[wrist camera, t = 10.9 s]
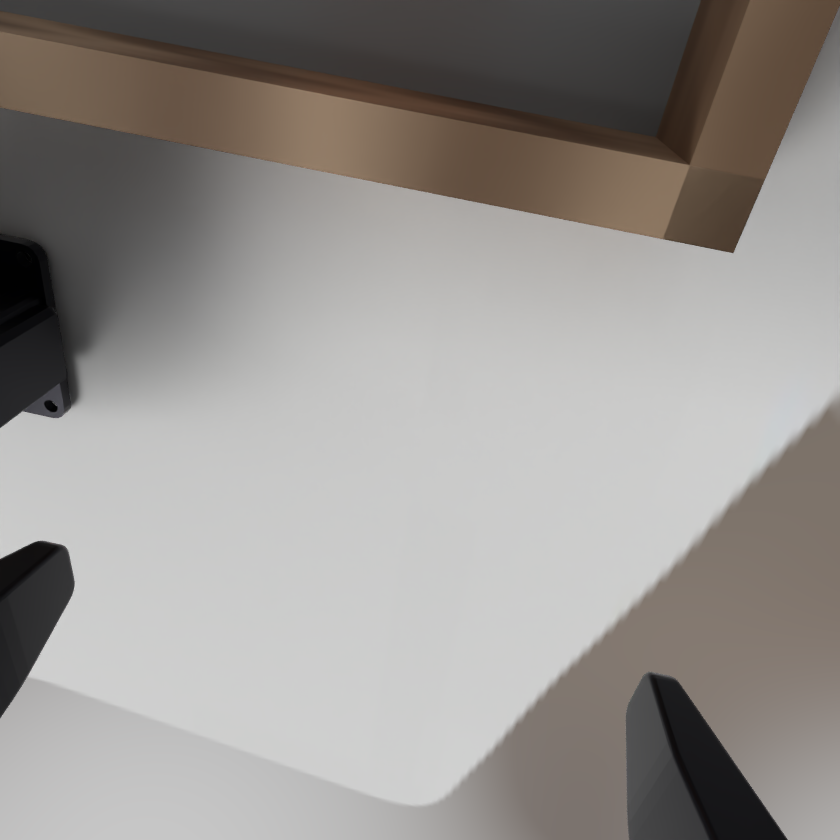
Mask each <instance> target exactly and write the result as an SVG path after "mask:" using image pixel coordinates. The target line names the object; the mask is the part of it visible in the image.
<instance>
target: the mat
mask: <svg viewBox="0 0 840 840" xmlns="http://www.w3.org/2000/svg"><path fill="white" fill-rule="evenodd" d="M700 2H701V0H0V11H4V12H9V13H14V14H19V15H24V16H30V17H35V18H40V19H45V20H50V21H56V22H61V23H66V24H71V25H76V26H82V27H87V28H92V29H97V30H102V31H108V32H113V33H118V34H123V35H128V36H133V37H139V38H144V39H149V40H154V41H159V42H165V43H170V44H175V45H180V46H185V47H191V48H196V49H201V50H206V51H211V52H217V53H222V54H227V55H232V56H237V57H243V58H248V59H253V60H258V61H263V62H269V63H274V64H279V65H284V66H289V67H295V68H300V69H305V70H310V71H315V72H320V73H326V74H331V75H336V76H341V77H346V78H352V79H357V80H362V81H367V82H372V83H378V84H383V85H388V86H393V87H398V88H404V89H409V90H414V91H419V92H424V93H430V94H435V95H440V96H445V97H450V98H456V99H461V100H466V101H471V102H476V103H482V104H487V105H492V106H497V107H502V108H507V109H513V110H518V111H523V112H528V113H533V114H539V115H544V116H549V117H554V118H559V119H565V120H570V121H575V122H580V123H585V124H591V125H596V126H601V127H606V128H611V129H617V130H622V131H627V132H632V133H637V134H643V135H648V136H653V137H656V135H657V132H658V129H659V126H660V123H661V120H662V117H663V114H664V111H665V108H666V105H667V102H668V99H669V96H670V93H671V89H672V86H673V83H674V80H675V77H676V74H677V71H678V68H679V65H680V62H681V59H682V56H683V53H684V50H685V47H686V44H687V41H688V38H689V35H690V32H691V29H692V26H693V23H694V20H695V17H696V14H697V11H698V8H699V5H700Z"/></svg>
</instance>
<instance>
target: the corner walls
mask: <svg viewBox="0 0 840 840" xmlns="http://www.w3.org/2000/svg"><path fill="white" fill-rule="evenodd" d="M839 6H840V0H701V2H700V5H699V8H698V11H697V14H696V17H695V20H694V23H693V26H692V29H691V32H690V35H689V38H688V41H687V44H686V47H685V50H684V53H683V56H682V59H681V62H680V65H679V68H678V71H677V74H676V77H675V80H674V83H673V86H672V89H671V93H670V96H669V99H668V102H667V105H666V108H665V111H664V114H663V117H662V120H661V123H660V126H659V129H658V132H657V135H656V137H653V136H648V135H643V134H637V133H632V132H627V131H622V130H617V129H611V128H606V127H601V126H596V125H591V124H585V123H580V122H575V121H570V120H565V119H559V118H554V117H549V116H544V115H539V114H533V113H528V112H523V111H518V110H513V109H507V108H502V107H497V106H492V105H487V104H482V103H476V102H471V101H466V100H461V99H456V98H450V97H445V96H440V95H435V94H430V93H424V92H419V91H414V90H409V89H404V88H398V87H393V86H388V85H383V84H378V83H372V82H367V81H362V80H357V79H352V78H346V77H341V76H336V75H331V74H326V73H320V72H315V71H310V70H305V69H300V68H295V67H289V66H284V65H279V64H274V63H269V62H263V61H258V60H253V59H248V58H243V57H237V56H232V55H227V54H222V53H217V52H211V51H206V50H201V49H196V48H191V47H185V46H180V45H175V44H170V43H165V42H159V41H154V40H149V39H144V38H139V37H133V36H128V35H123V34H118V33H113V32H108V31H102V30H97V29H92V28H87V27H82V26H76V25H71V24H66V23H61V22H56V21H50V20H45V19H40V18H35V17H30V16H24V15H19V14H14V13H9V12H4V11H0V108H5V109H10V110H15V111H20V112H25V113H30V114H35V115H41V116H46V117H51V118H56V119H61V120H66V121H71V122H76V123H81V124H86V125H91V126H96V127H101V128H106V129H111V130H116V131H121V132H126V133H131V134H136V135H141V136H146V137H151V138H156V139H161V140H166V141H171V142H177V143H182V144H187V145H192V146H197V147H202V148H207V149H212V150H217V151H222V152H227V153H232V154H237V155H242V156H247V157H252V158H257V159H262V160H267V161H272V162H277V163H282V164H287V165H292V166H297V167H302V168H307V169H313V170H318V171H323V172H328V173H333V174H338V175H343V176H348V177H353V178H358V179H363V180H368V181H373V182H378V183H383V184H388V185H393V186H398V187H403V188H408V189H413V190H418V191H423V192H428V193H433V194H438V195H443V196H449V197H454V198H459V199H464V200H469V201H474V202H479V203H484V204H489V205H494V206H499V207H504V208H509V209H514V210H519V211H524V212H529V213H534V214H539V215H544V216H549V217H554V218H559V219H564V220H569V221H574V222H579V223H585V224H590V225H595V226H600V227H605V228H610V229H615V230H620V231H625V232H630V233H635V234H640V235H645V236H650V237H655V238H660V239H665V240H670V241H675V242H680V243H685V244H690V245H695V246H700V247H705V248H710V249H715V250H721V251H726V252H731V253H733V252H734V250H735V248H736V245H737V243H738V241H739V238H740V236H741V234H742V231H743V229H744V227H745V225H746V222H747V220H748V218H749V215H750V213H751V211H752V208H753V206H754V204H755V201H756V199H757V197H758V194H759V192H760V190H761V187H762V185H763V183H764V180H765V178H766V176H767V173H768V171H769V169H770V166H771V164H772V162H773V159H774V157H775V155H776V152H777V150H778V148H779V145H780V143H781V141H782V139H783V136H784V134H785V132H786V129H787V127H788V125H789V122H790V120H791V118H792V115H793V113H794V111H795V108H796V106H797V104H798V101H799V99H800V97H801V94H802V92H803V90H804V87H805V85H806V83H807V80H808V78H809V76H810V73H811V71H812V69H813V66H814V64H815V62H816V59H817V57H818V55H819V53H820V50H821V48H822V46H823V43H824V41H825V39H826V36H827V34H828V32H829V29H830V27H831V25H832V22H833V20H834V18H835V15H836V13H837V11H838V8H839Z"/></svg>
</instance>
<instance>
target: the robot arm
mask: <svg viewBox="0 0 840 840" xmlns="http://www.w3.org/2000/svg"><path fill="white" fill-rule="evenodd" d="M25 253H27V254H28V255H29V256H30V257H31V259H32V262H30V261H29V260H28V259H27V258H26V255H25ZM52 401H53V402H54V403H55V404H56V405H57V406H56V405H55V404H53V403H52ZM70 408H71V401H70V395H69V389H68V383H67V372H66V366H65V359H64V353H63V347H62V341H61V334H60V328H59V322H58V316H57V314H56V308H55V302H54V296H53V289H52V283H51V277H50V271H49V264H48V258H47V256H46V253H45V251H44V250H43V249H42V247H41V246H40V245H38V244H37V243H35V242H33V241H30V240H26V239H21V238H16V237H11V236H7V235H2V234H0V428H1V427H2V426H4V425H5V424H6V423H8V422H9V421H10V420H11V419H13V418H14V417H15V416H17V415H18V414H19V413H21V412H22V411H24V412H29V413H33V414H38V415H43V416H47V417H52V418H59V417H62V416H63V415H64V414H65V413H66V412H68V411H69V409H70ZM74 584H75V582H74V576H73V571H72V566H71V561H70V557H69V552H68V550H67V548H66V547H65V546H63V545H60V544H56V543H51V542H46V541H37V542H34V543H32V544H30V545H28V546H26V547H23V548H21V549H19V550H17V551H15V552H13V553H11V554H9V555H7V556H5V557H3V558H1V559H0V718H1V716H2V715H3V713H4V712H5V710H6V709H7V708H8V706H9V705H10V703H11V702H12V700H13V699H14V697H15V696H16V694H17V692H18V691H19V689H20V688H21V686H22V685H23V683H24V681H25V680H26V678H27V676H28V675H29V673H30V671H31V669H32V667H33V666H34V664H35V662H36V660H37V658H38V657H39V655H40V653H41V651H42V649H43V647H44V646H45V644H46V642H47V640H48V638H49V637H50V635H51V633H52V631H53V629H54V627H55V626H56V624H57V622H58V620H59V618H60V617H61V615H62V613H63V611H64V609H65V608H66V606H67V604H68V602H69V600H70V598H71V596H72V594H73V591H74ZM626 761H627V763H626V764H627V815H628V832H629V840H788V839H787V838H786V836H785V835H784V833H783V832H782V831H781V830H780V828H779V826H778V825H777V823H776V822H775V820H774V819H773V818H772V816H771V815H770V813H769V812H768V810H767V809H766V807H765V806H764V805H763V803H762V802H761V800H760V799H759V797H758V796H757V794H756V793H755V792H754V790H753V789H752V787H751V786H750V784H749V783H748V782H747V780H746V779H745V777H744V776H743V774H742V773H741V771H740V770H739V769H738V767H737V766H736V764H735V763H734V761H733V760H732V758H731V757H730V756H729V754H728V753H727V751H726V750H725V749H724V747H723V746H722V744H721V742H720V741H719V740H718V738H717V737H716V735H715V734H714V732H713V731H712V729H711V728H710V727H709V725H708V724H707V722H706V721H705V719H704V718H703V717H702V715H701V714H700V712H699V711H698V709H697V708H696V706H695V705H694V703H693V702H692V701H691V699H690V698H689V696H688V695H687V693H686V692H685V691H684V689H683V688H682V686H681V685H680V683H679V682H678V681H677V680H676V679H675V678H673V677H671V676H668V675H663V674H659V673H654V672H648V673H646V674H644V676H643V677H642V679H641V681H640V683H639V685H638V686H637V688H636V690H635V692H634V694H633V696H632V698H631V700H630V702H629V704H628V707H627V712H626Z"/></svg>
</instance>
